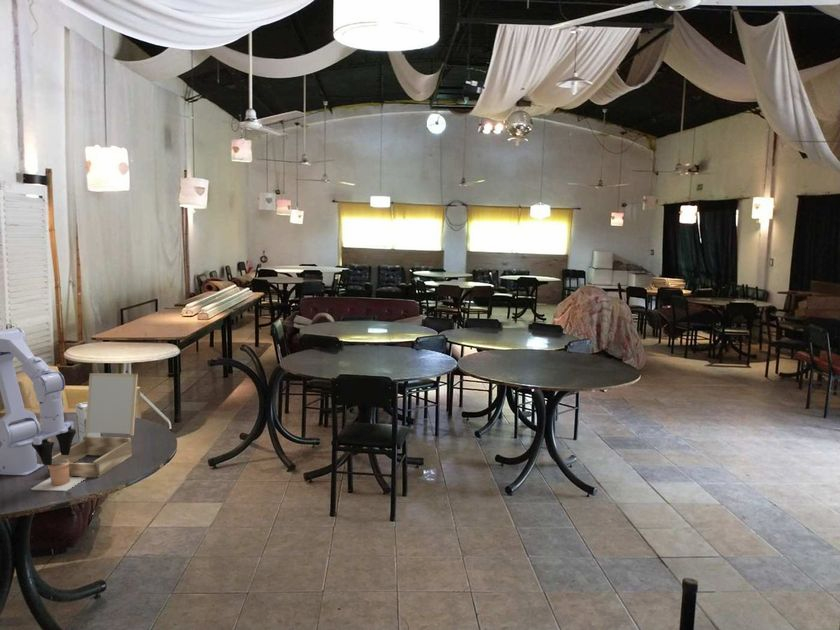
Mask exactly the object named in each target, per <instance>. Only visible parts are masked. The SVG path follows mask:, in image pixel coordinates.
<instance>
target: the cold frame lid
mask: <svg viewBox="0 0 840 630" xmlns="http://www.w3.org/2000/svg"><path fill="white" fill-rule="evenodd" d="M88 376H89V378H88V391H87V392H88V393H87V402H88V403H87V416H86V429H85V434H90V433H102V434H126V435H127V434H129V436H134V435H135V425H136V424H135V422H136V421H135V420H136V405H137V393H138V392H137V390H138V377H139V374H138V373H109V372H107V373H105V372H103V373H102V372H100V373H99V372H97V373H96V372H89V375H88Z"/></svg>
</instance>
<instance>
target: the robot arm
mask: <svg viewBox="0 0 840 630" xmlns="http://www.w3.org/2000/svg"><path fill="white" fill-rule="evenodd" d="M14 358H16V359H17V360H18V361H19V362H20V363H21V364H22V366H21V367H22V368H21V369H22V371H23V373H24V374H25V375H26V376H27V377H28V379H30V381H31V382H32V383H33V384H32V387H33V391H34V394H35V396H36V401H38V403H39V404H38V405H39V413H40V422H39V421H38V419H37V416H36V414H35V413H34V412H33V411H32V412H31V411H29V410H27V409H25V404H24V401H23V397H22V392H21V389H20V388H21V387H20V384H19V380H18V376H17V374H16V369H15V366H14V362H13V360H14ZM65 388H66V381H65V377H64V375H63V374H62V373H61V372H60V371H57V370H54V369H52V368H50V366H49V365H48V364H47V363H46V361H44V359H42V357H41V356H40V357H39V356H35V355H34V354H33V352H32V350H31V349H30V347H29V346H28V344H27V335H26V333H25V331H24V329H22V327H19V326H18V327H14V328H8V329H1V330H0V396H1V398H2V403H3V407H4V410H5V414H4V415H3V416H2V417H1V418H0V442H1V446H0V475H5V476H7V475H9V476H29V475H30V474H32V473H33V472H36V471H37V470H40V469H41V468H43V467H45V466H48V465H51V464H52V457H53V448H54V445H55V442H54V441H49V439H51V438H53V437H56V439H57V442H58V445H59V446H58V447H59V453H61V455H69V453H70V448H71V447H72V444H73V443H72V442H73V439H74V437H75V435H76V434H77V433H76V432H77V430H76V429H74V425H75V424H74V421H71V420H70V421H69V420H67V421H65V416H64V406H63V405H64V404H63V394H62V392H63V391H64V390H65ZM20 420H21V421H20ZM40 423H41V424H40ZM37 454H38V456H39V458H40V460H41V462H42V463H38V459H37V458H38V457H37Z"/></svg>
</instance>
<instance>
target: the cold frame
mask: <svg viewBox="0 0 840 630" xmlns="http://www.w3.org/2000/svg"><path fill="white" fill-rule="evenodd" d="M132 449H133V448H132V439H131V437H122V436H120V437H116V436H102V437H91V436H85V437H83V441H81V442H79V441H78V442H76V444H74V445H71V448H70V453H69V455H61V452H59V453H57V454H55V455H54V456H53V455H52V462H53V461H56V460H69V462H70V465H69V476H70V477H72V476H79V477H84V478H96V477H97V478H100V477H101V476H103V475H104V474H106V473H107V472H109V471H110V470H112V469H114V468H115V467H117V466H118V465H120V464H121V463H123V462H124V461H125V460H127V459H129V458H131V457H132V455H133V452H132ZM86 455H87V456H100V457H99V458H97V459H95V460H94V461H92V462H93V463H91V462H78V461H80V460H81V459H84V458H85V457H86ZM79 459H80V460H79ZM74 462H75V463H74ZM47 470H48V471H47V472H48V476H49V475H50V470H49V469H48V468H47Z"/></svg>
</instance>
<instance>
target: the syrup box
mask: <svg viewBox="0 0 840 630" xmlns="http://www.w3.org/2000/svg"><path fill="white" fill-rule="evenodd" d="M87 403H88V401H84V402H80V403H76V404H75V411H76V424H77V435H78V437H77V438H78V443H79V442H81V441H83V437H85V436H91V437H103V433H90V434H85V429H86V416H87Z"/></svg>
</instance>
